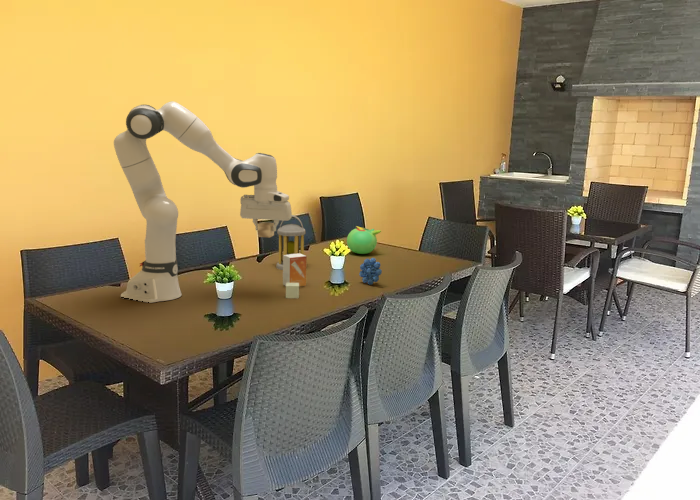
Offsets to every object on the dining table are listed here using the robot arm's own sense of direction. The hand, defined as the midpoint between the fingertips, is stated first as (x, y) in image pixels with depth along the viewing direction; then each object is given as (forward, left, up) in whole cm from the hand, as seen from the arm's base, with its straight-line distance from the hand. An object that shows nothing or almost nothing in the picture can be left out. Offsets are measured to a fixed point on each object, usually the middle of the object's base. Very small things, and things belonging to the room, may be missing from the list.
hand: (265, 230), depth 227 cm
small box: (+8, +14, -25) cm, 30 cm away
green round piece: (+24, +86, -25) cm, 92 cm away
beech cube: (0, 0, -2) cm, 2 cm away
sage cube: (+12, -2, -25) cm, 28 cm away
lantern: (-3, +45, -25) cm, 51 cm away
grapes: (+39, +25, -25) cm, 52 cm away
